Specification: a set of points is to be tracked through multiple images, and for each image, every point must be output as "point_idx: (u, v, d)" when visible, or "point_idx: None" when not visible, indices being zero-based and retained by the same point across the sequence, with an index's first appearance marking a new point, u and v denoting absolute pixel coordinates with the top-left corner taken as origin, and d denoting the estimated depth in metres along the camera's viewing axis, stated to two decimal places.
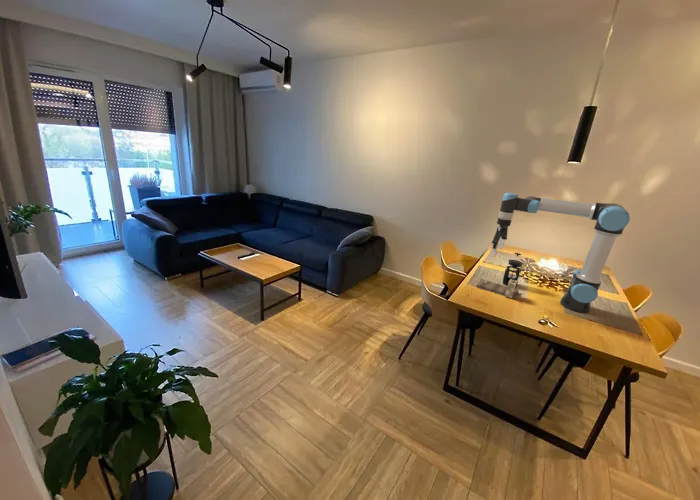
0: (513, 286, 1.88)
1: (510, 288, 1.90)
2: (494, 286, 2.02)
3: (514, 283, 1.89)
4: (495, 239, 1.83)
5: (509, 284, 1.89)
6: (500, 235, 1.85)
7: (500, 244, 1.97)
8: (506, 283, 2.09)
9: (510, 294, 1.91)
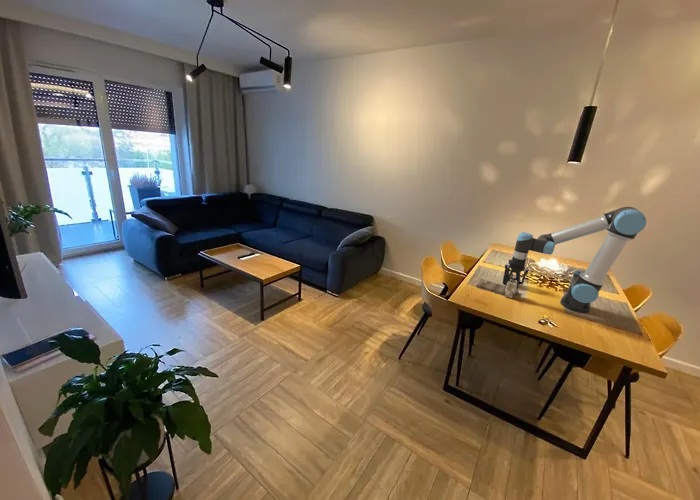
0: (513, 286, 1.88)
1: (510, 288, 1.90)
2: (494, 286, 2.02)
3: (514, 283, 1.89)
4: None
5: (509, 284, 1.89)
6: None
7: None
8: None
9: (510, 294, 1.91)
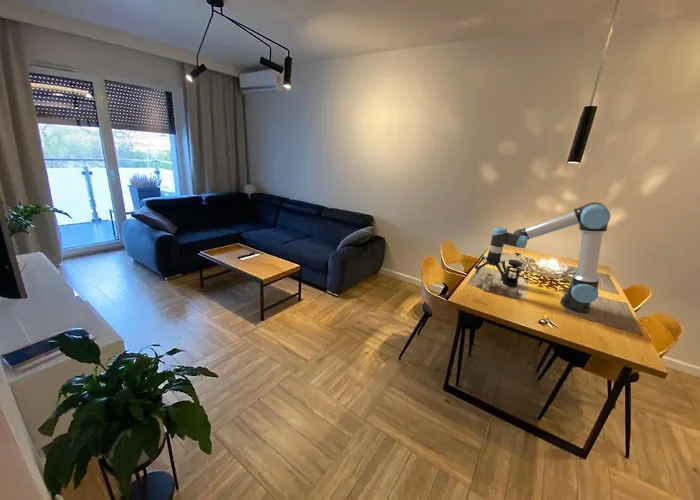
0: (489, 279, 1.96)
1: (487, 281, 1.97)
2: (494, 286, 2.02)
3: (490, 276, 1.97)
4: (476, 264, 2.02)
5: (486, 277, 1.97)
6: (483, 264, 1.98)
7: (499, 280, 1.96)
8: (506, 283, 2.09)
9: (486, 287, 1.98)
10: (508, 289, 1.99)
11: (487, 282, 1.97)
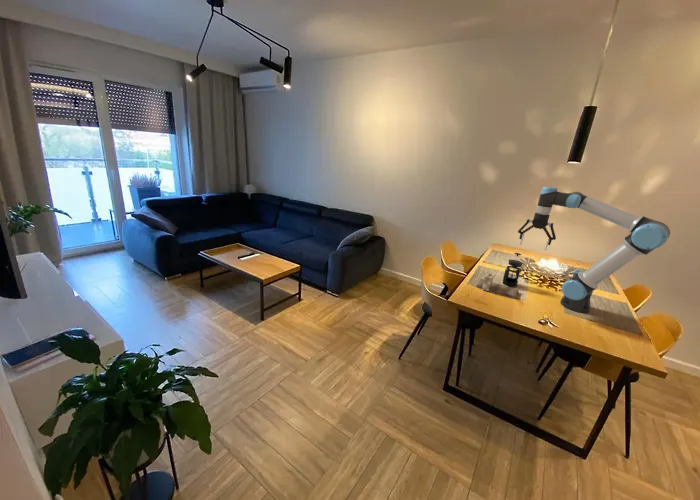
0: (489, 279, 1.96)
1: (487, 281, 1.97)
2: (494, 286, 2.02)
3: (490, 276, 1.97)
4: (520, 228, 1.89)
5: (486, 277, 1.97)
6: (528, 227, 1.85)
7: (546, 244, 1.83)
8: (506, 283, 2.09)
9: (486, 287, 1.98)
10: (508, 289, 1.99)
11: (487, 282, 1.97)
